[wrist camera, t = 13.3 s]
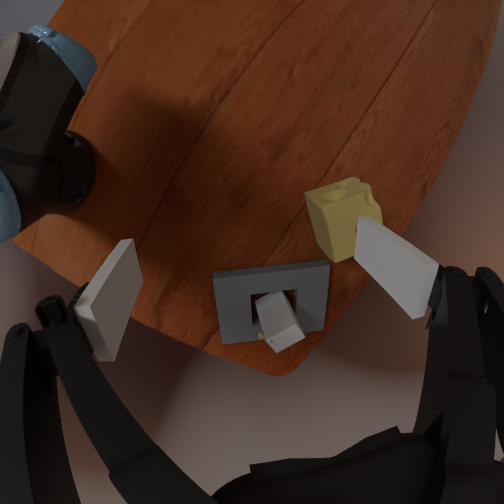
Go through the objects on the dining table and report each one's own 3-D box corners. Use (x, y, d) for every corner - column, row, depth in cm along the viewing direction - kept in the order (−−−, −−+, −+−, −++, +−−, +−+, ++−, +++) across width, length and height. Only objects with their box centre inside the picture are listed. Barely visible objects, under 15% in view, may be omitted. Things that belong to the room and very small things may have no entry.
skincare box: (264, 314, 57) (275, 354, 46) (253, 300, 55) (264, 340, 44) (289, 300, 56) (306, 337, 45) (280, 285, 54) (296, 323, 44)
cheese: (351, 174, 47) (380, 185, 38) (360, 226, 52) (387, 246, 43) (299, 191, 47) (320, 205, 38) (313, 244, 52) (334, 268, 43)
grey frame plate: (221, 336, 58) (222, 349, 54) (212, 272, 51) (212, 282, 47) (319, 322, 60) (325, 333, 56) (325, 259, 53) (333, 268, 50)
